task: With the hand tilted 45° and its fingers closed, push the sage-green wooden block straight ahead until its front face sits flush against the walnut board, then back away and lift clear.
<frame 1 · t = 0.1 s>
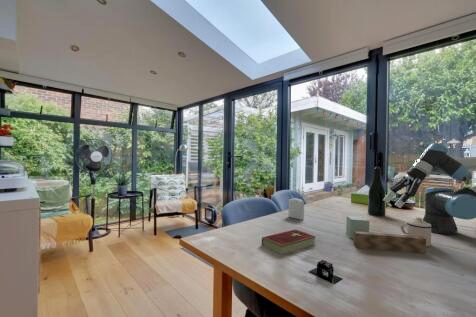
hand: (391, 203, 117), 15 cm above the table, tool tilted 35°, fingers open, 13 cm apart
hardcover book: (289, 246, 99), on the table
walnut board: (388, 249, 96), on the table
dark green wine bottle: (376, 214, 158), on the table
teacup with lid: (414, 242, 105), on the table
black tape dispenser: (324, 277, 73), on the table
sage block: (357, 236, 112), on the table
grey arched block: (295, 218, 144), on the table
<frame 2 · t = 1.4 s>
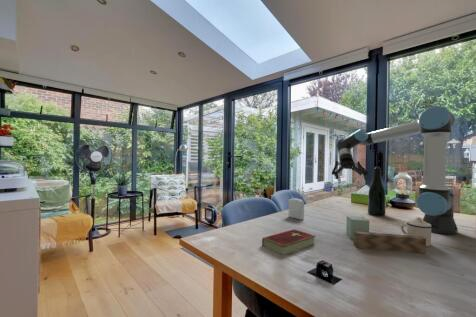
hand: (351, 183, 130), 24 cm above the table, tool tilted 45°, fingers open, 12 cm apart
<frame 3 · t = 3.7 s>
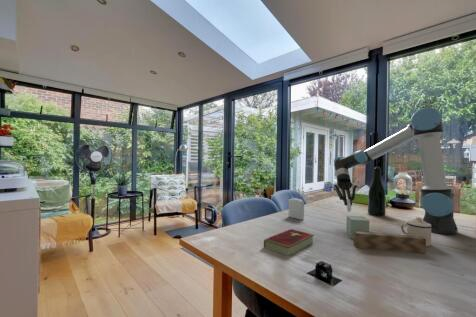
hand: (349, 210, 125), 10 cm above the table, tool tilted 45°, fingers closed
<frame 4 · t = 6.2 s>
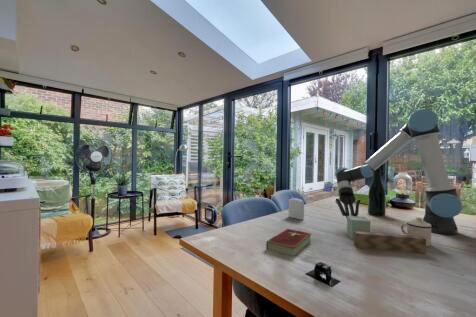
hand: (352, 227, 116), 3 cm above the table, tool tilted 45°, fingers closed
sage block: (357, 236, 111), on the table
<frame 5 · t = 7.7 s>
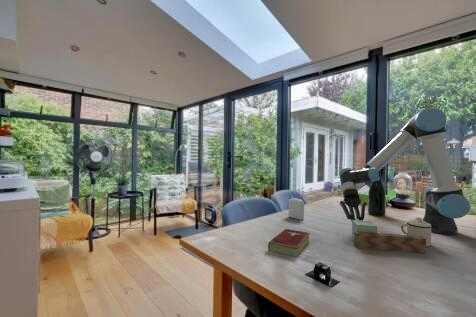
hand: (358, 232, 109), 3 cm above the table, tool tilted 45°, fingers closed
sage block: (363, 242, 103), on the table, touching gripper, walnut board
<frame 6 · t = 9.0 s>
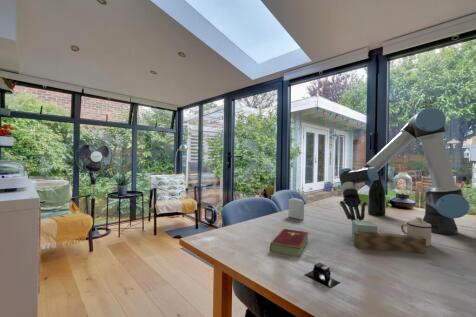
hand: (359, 232, 109), 3 cm above the table, tool tilted 45°, fingers closed
sage block: (363, 242, 103), on the table
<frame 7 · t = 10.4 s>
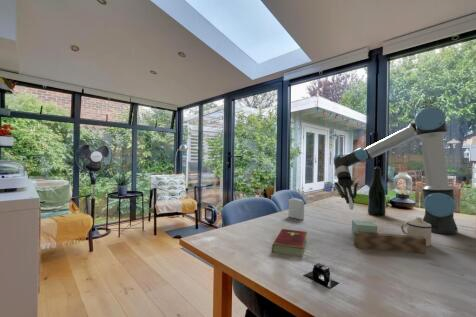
hand: (351, 208, 122), 12 cm above the table, tool tilted 45°, fingers closed
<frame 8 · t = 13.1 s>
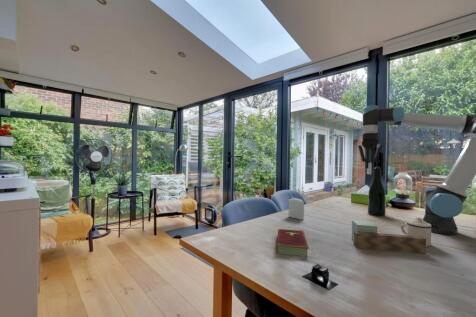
hand: (369, 174, 131), 29 cm above the table, tool pointing down, fingers closed
at the end: sage block 0.5 cm from the target spot on the table beside the walnut board, on the table; sage block tilted 0° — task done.
